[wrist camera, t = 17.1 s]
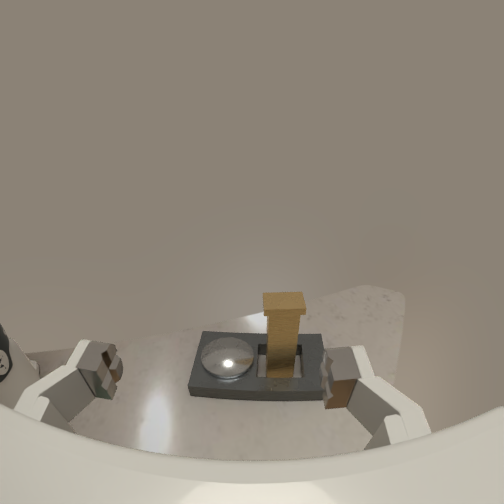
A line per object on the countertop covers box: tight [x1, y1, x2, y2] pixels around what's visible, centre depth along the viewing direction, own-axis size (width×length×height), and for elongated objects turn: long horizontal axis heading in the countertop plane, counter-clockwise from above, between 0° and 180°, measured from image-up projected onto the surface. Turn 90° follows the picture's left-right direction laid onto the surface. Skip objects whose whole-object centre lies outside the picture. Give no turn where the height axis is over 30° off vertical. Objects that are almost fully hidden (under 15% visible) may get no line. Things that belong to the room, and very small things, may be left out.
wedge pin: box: [263, 292, 306, 378], centre depth 40 cm, size 5×4×14 cm
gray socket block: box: [188, 331, 324, 401], centre depth 43 cm, size 20×12×3 cm, turn 87°
